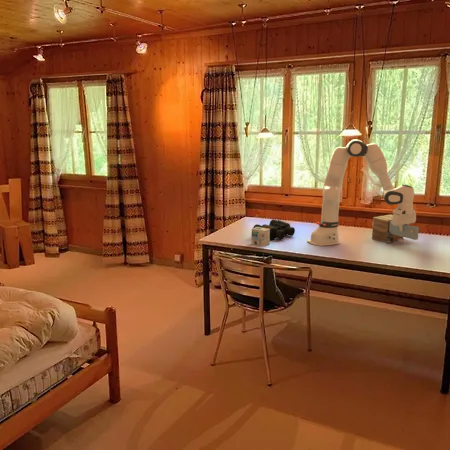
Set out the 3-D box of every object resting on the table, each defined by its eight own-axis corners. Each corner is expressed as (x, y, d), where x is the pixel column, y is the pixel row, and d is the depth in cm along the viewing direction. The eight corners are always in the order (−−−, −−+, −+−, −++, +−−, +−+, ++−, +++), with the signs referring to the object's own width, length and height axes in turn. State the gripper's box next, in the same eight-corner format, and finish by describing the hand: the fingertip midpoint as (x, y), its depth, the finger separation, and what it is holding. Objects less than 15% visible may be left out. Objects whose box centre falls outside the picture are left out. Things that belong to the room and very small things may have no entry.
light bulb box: (250, 244, 296) (251, 228, 294) (256, 241, 302) (256, 226, 299) (264, 246, 290) (265, 230, 288) (269, 244, 296) (270, 228, 293)
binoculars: (274, 229, 333) (275, 217, 331) (297, 236, 321) (299, 223, 318) (251, 237, 312) (252, 223, 309) (275, 244, 300) (277, 230, 297)
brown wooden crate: (388, 243, 296) (390, 221, 293) (370, 238, 309) (372, 217, 305) (407, 239, 307) (409, 218, 303) (389, 234, 319) (390, 214, 315)
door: (417, 239, 282) (419, 227, 280) (414, 240, 280) (415, 227, 278) (391, 233, 298) (392, 221, 296) (387, 233, 296) (388, 222, 294)
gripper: (411, 207, 293) (409, 227, 296) (391, 210, 283) (389, 231, 286) (419, 209, 288) (417, 229, 291) (399, 212, 277) (397, 233, 281)
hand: (403, 230), depth 288 cm, fingers closed on door, 2 cm apart
